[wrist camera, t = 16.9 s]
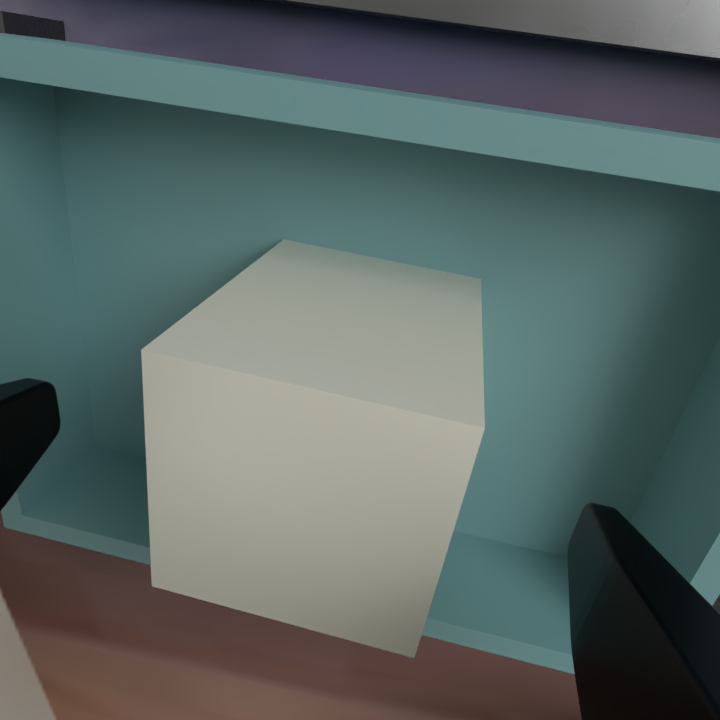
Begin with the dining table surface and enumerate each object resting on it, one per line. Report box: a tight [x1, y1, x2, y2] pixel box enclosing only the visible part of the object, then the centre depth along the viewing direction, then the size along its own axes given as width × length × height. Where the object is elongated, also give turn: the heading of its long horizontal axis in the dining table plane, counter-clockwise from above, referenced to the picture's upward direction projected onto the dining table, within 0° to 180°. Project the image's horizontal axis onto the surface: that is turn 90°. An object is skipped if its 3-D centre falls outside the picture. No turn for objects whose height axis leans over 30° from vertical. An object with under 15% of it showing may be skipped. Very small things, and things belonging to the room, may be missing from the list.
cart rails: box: [0, 0, 720, 613], centre depth 14 cm, size 16×29×2 cm, turn 83°
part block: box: [141, 239, 485, 658], centre depth 11 cm, size 4×4×6 cm
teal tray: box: [0, 33, 720, 674], centre depth 13 cm, size 11×16×5 cm
